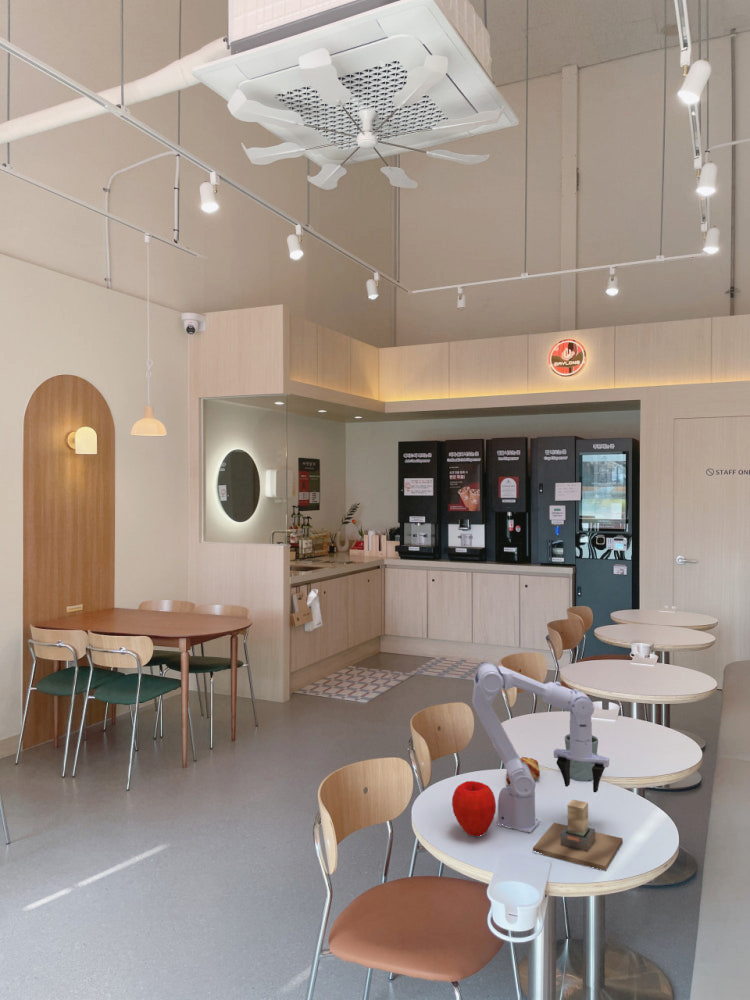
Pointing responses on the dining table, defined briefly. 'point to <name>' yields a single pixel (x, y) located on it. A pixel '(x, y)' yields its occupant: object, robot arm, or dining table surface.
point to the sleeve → (578, 839)
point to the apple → (474, 807)
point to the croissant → (532, 766)
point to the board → (595, 857)
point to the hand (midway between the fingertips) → (581, 788)
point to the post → (577, 817)
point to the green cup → (581, 763)
